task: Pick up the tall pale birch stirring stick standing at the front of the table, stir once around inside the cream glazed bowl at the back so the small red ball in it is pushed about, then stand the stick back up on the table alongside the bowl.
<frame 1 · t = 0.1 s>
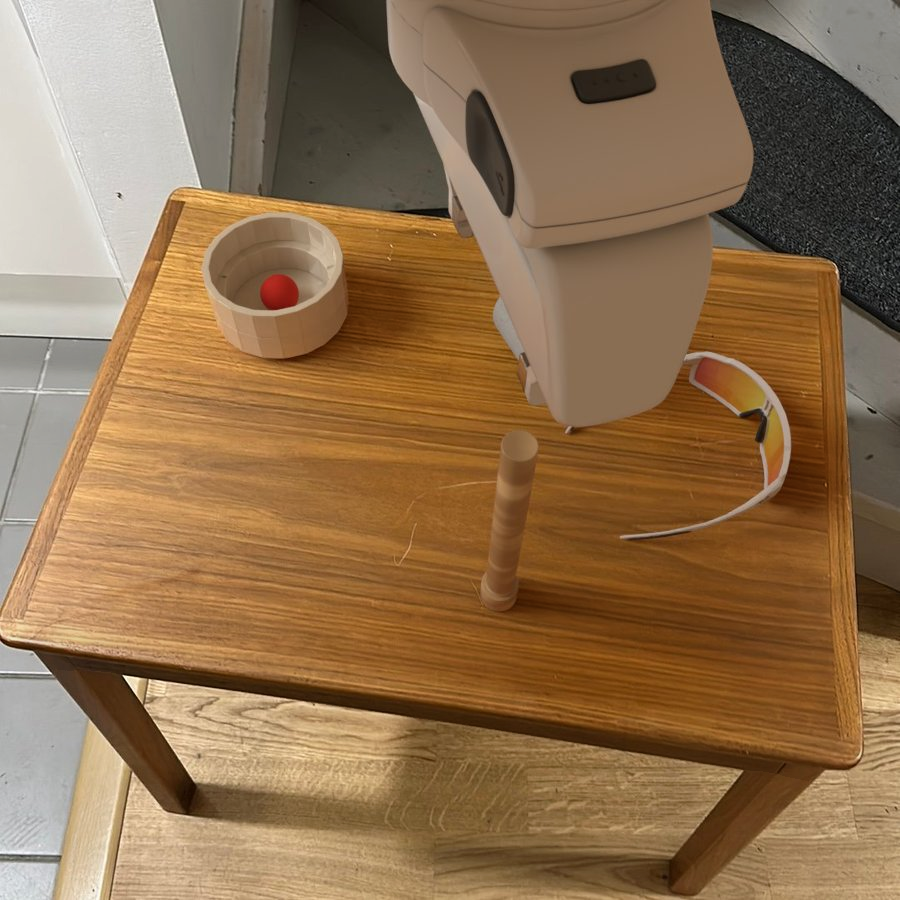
hand: (505, 302, 39), 31 cm above the table, tool pointing down, fingers open, 8 cm apart
sunglasses: (676, 457, 72), on the table
stir stick: (498, 594, 66), on the table
ceramic mug: (563, 354, 77), on the table
red ball: (279, 293, 77), point 2 cm above the table, touching bowl
bowl: (283, 310, 79), on the table
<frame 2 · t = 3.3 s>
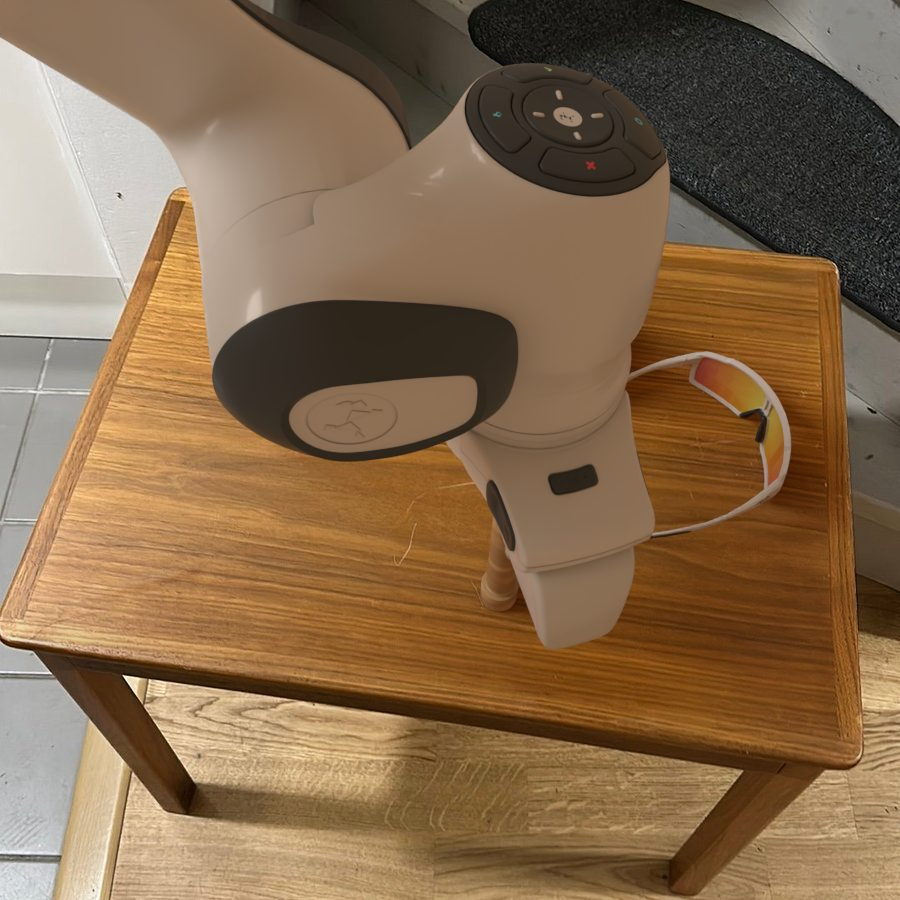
hand: (508, 523, 56), 11 cm above the table, tool pointing down, fingers closed on stir stick, 2 cm apart
stir stick: (498, 594, 66), on the table, touching gripper
everything else where it was.
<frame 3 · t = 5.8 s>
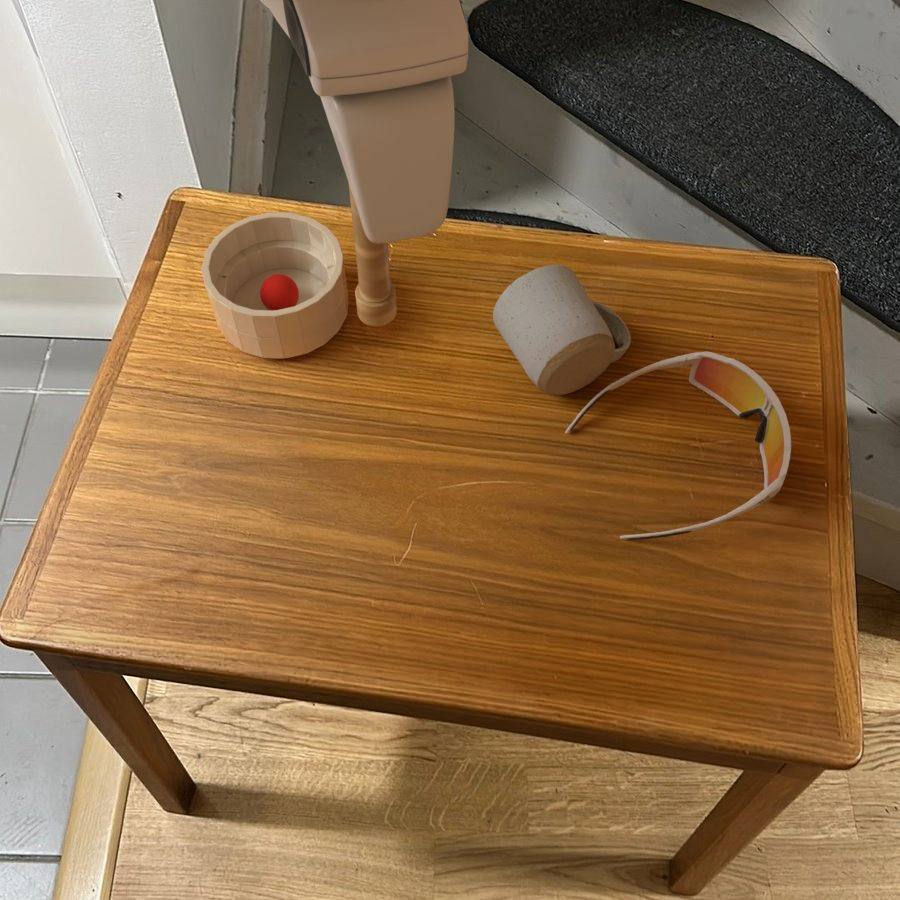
hand: (365, 181, 52), 25 cm above the table, tool pointing down, fingers closed on stir stick
stir stick: (377, 311, 61), point 14 cm above the table, touching gripper
everything else where it was.
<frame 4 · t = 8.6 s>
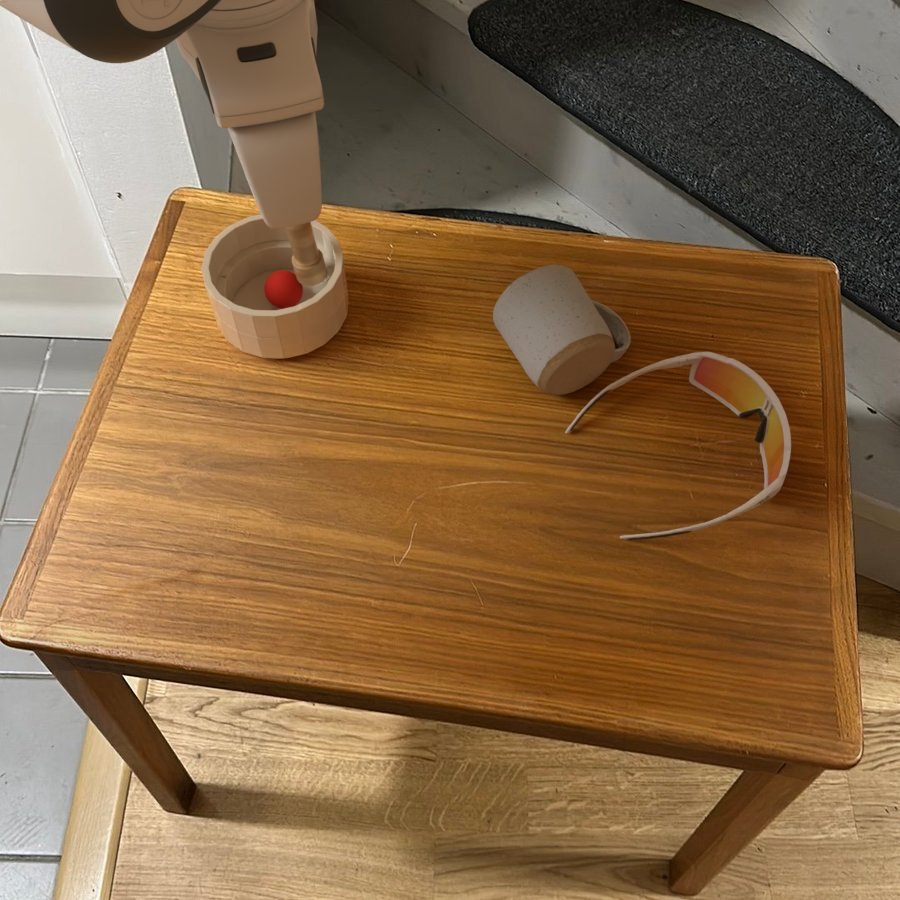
hand: (278, 183, 69), 13 cm above the table, tool pointing down, fingers closed on stir stick, 2 cm apart
stir stick: (311, 274, 77), point 3 cm above the table, touching bowl, gripper, red ball
red ball: (283, 289, 78), point 2 cm above the table, tilted 21°, touching bowl, stir stick
everything else where it was.
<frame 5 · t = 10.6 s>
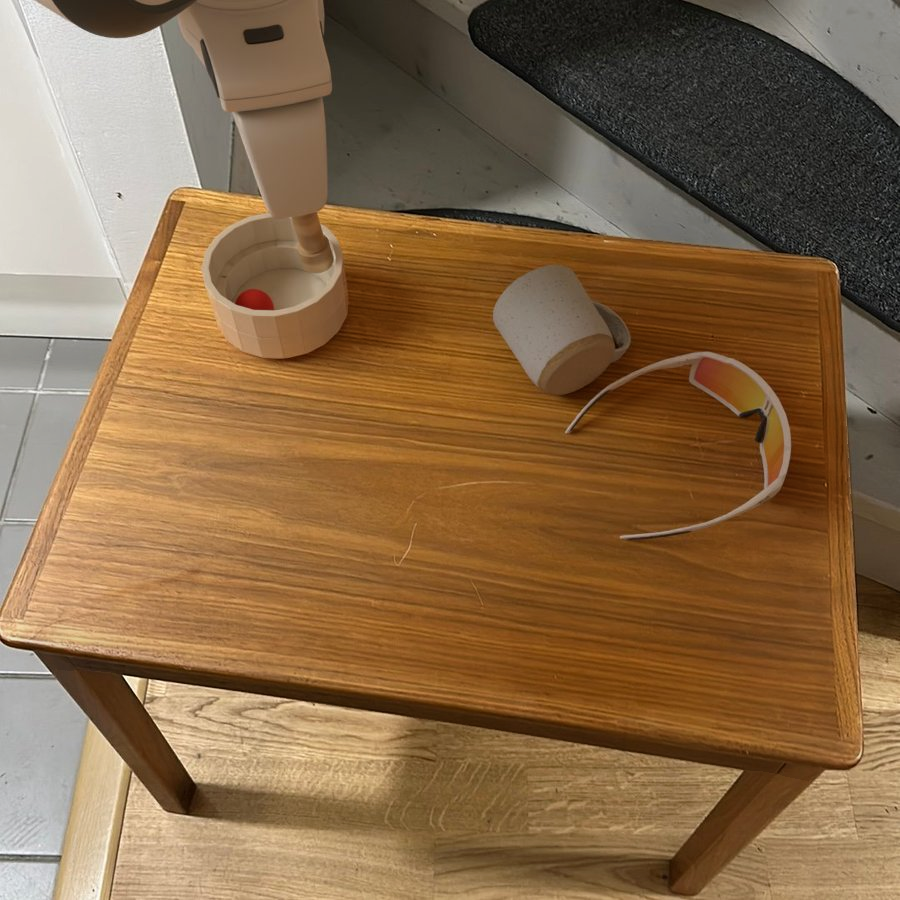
hand: (280, 175, 67), 14 cm above the table, tool pointing down, fingers closed on stir stick, 2 cm apart
stir stick: (318, 261, 75), point 5 cm above the table, tilted 5°, touching gripper
red ball: (254, 308, 76), point 2 cm above the table, tilted 90°, touching bowl
everything else where it was.
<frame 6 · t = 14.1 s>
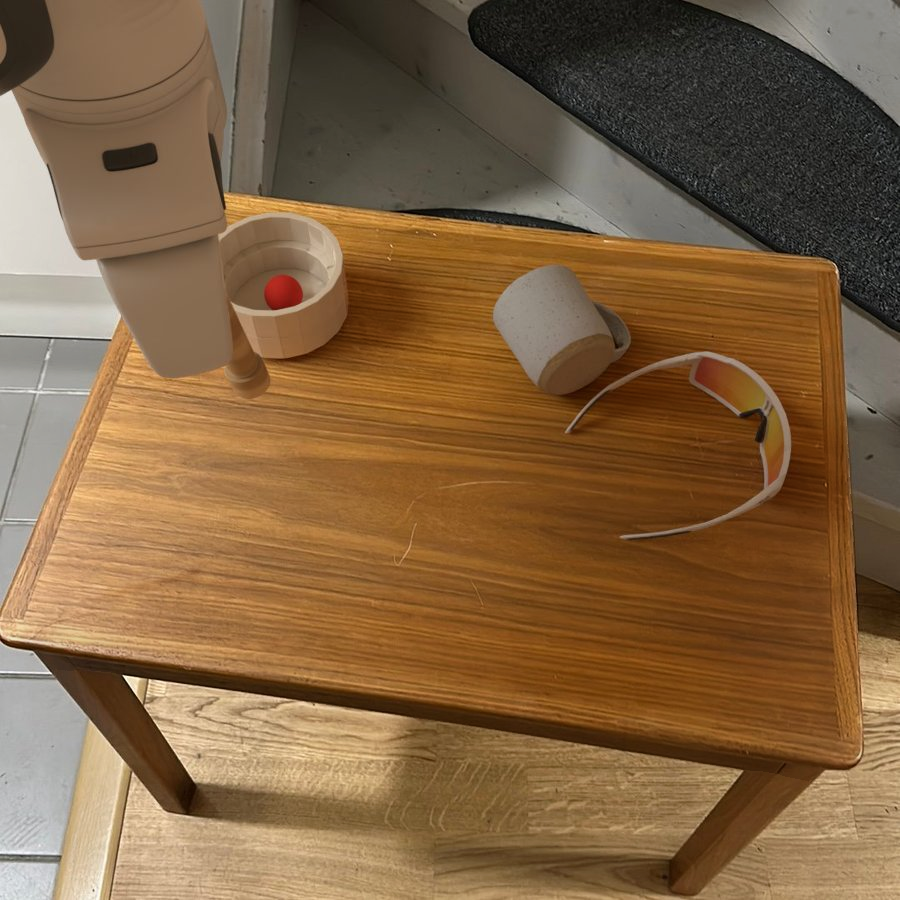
hand: (192, 295, 54), 20 cm above the table, tool pointing down, fingers closed on stir stick
stir stick: (251, 383, 62), point 11 cm above the table, tilted 6°, touching gripper
red ball: (283, 294, 77), point 2 cm above the table, tilted 10°, touching bowl
everything else where it was.
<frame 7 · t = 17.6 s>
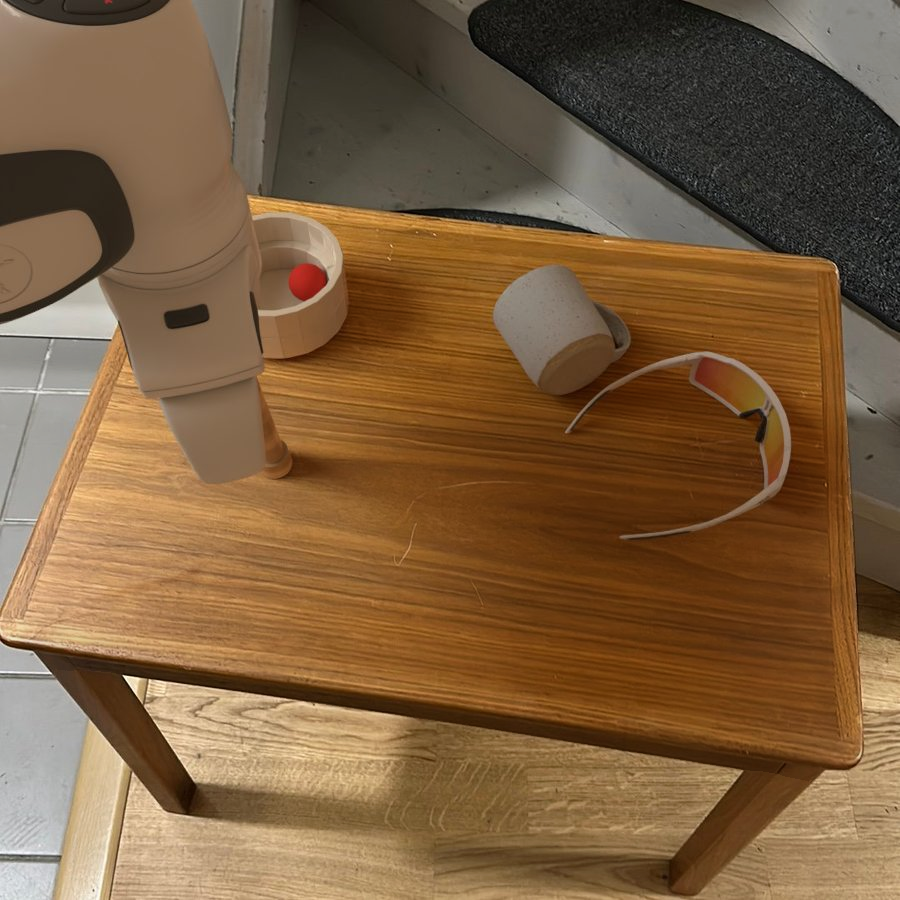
hand: (224, 396, 62), 10 cm above the table, tool pointing down, fingers open, 8 cm apart
stir stick: (275, 464, 71), on the table
red ball: (307, 282, 78), point 2 cm above the table, tilted 92°, touching bowl
everything else where it was.
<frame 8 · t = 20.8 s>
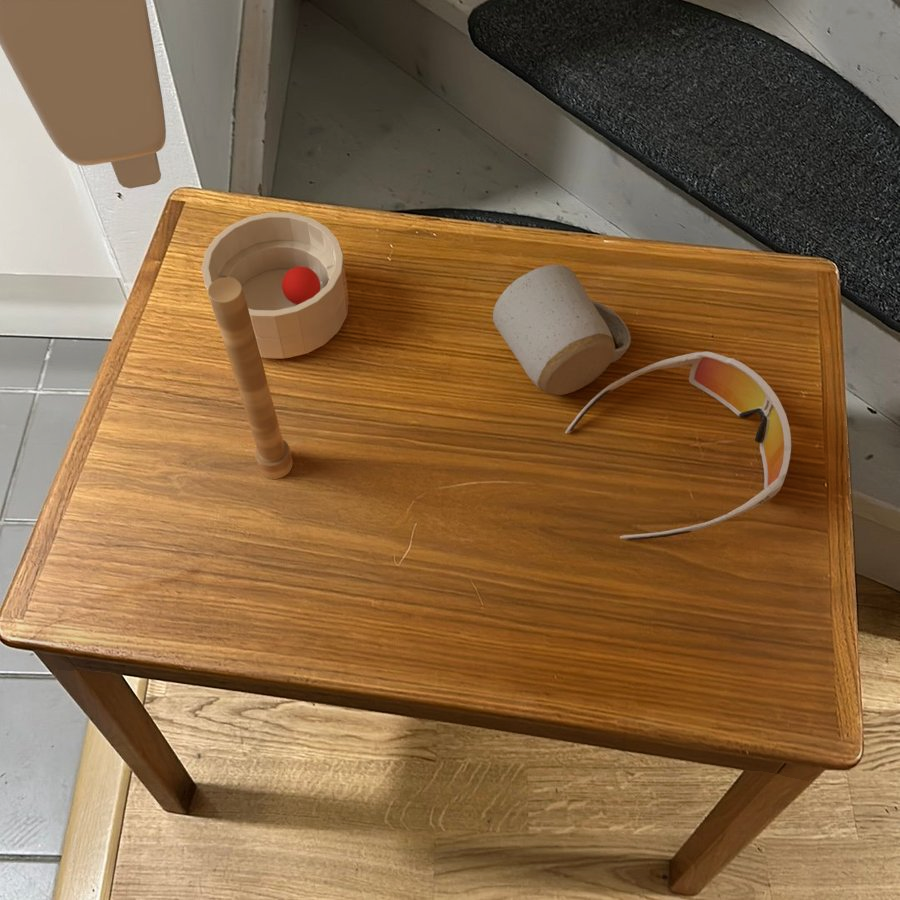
hand: (128, 107, 43), 33 cm above the table, tool pointing down, fingers open, 8 cm apart
red ball: (301, 285, 78), point 2 cm above the table, tilted 70°, touching bowl
at the end: red ball moved 1.9 cm from its start; stir stick 1.9 cm from the target spot, on the table; stir stick tilted 0° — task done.
